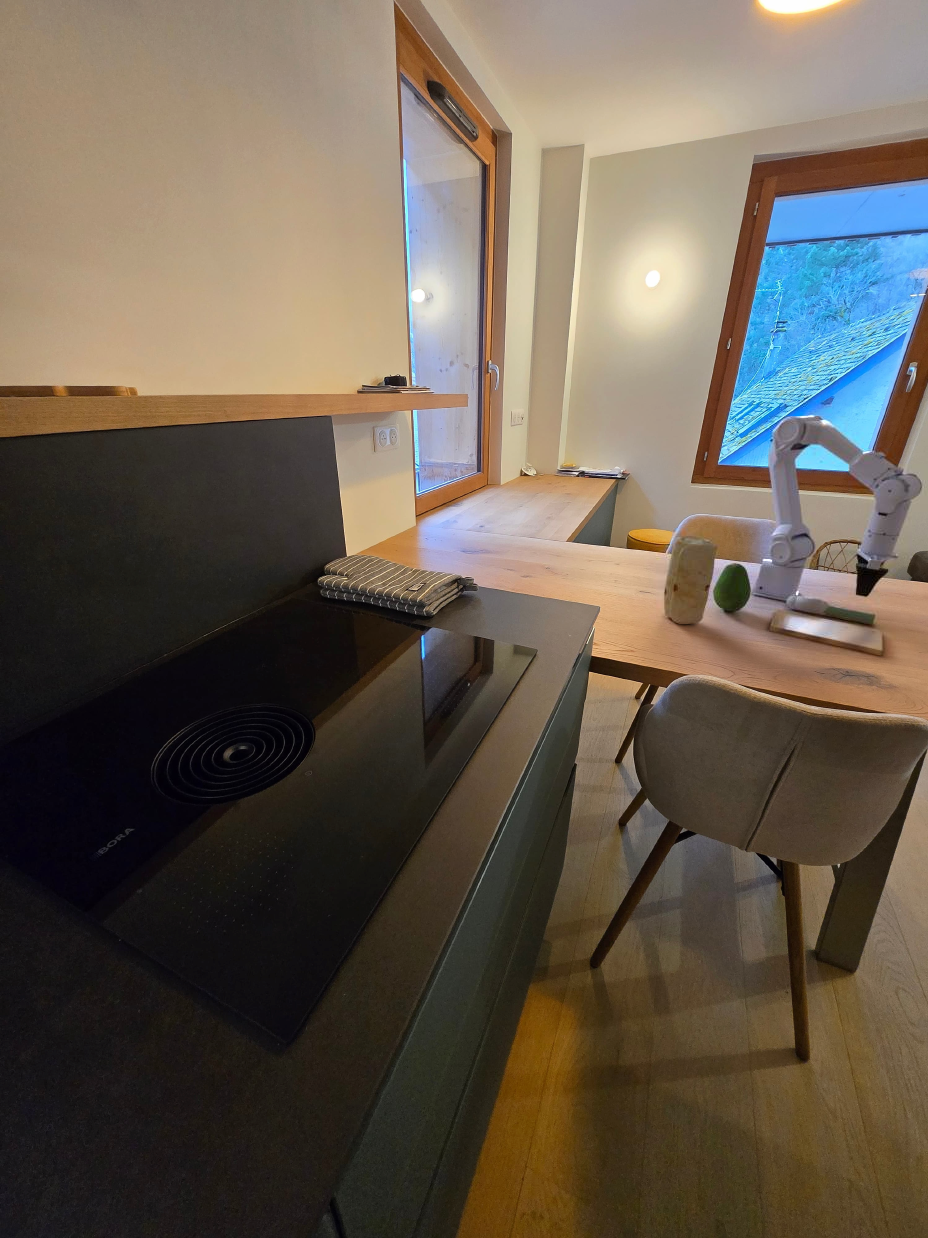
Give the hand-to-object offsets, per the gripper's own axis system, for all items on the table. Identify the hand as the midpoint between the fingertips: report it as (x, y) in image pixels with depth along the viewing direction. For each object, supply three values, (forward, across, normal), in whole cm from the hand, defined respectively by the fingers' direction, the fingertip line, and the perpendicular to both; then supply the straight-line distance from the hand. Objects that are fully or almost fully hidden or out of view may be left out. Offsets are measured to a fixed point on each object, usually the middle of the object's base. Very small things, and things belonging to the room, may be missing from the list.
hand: (861, 590), depth 112 cm
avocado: (+8, -10, +25) cm, 28 cm away
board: (+8, -11, +5) cm, 14 cm away
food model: (+8, -22, +33) cm, 40 cm away
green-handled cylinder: (+8, 0, +5) cm, 9 cm away
